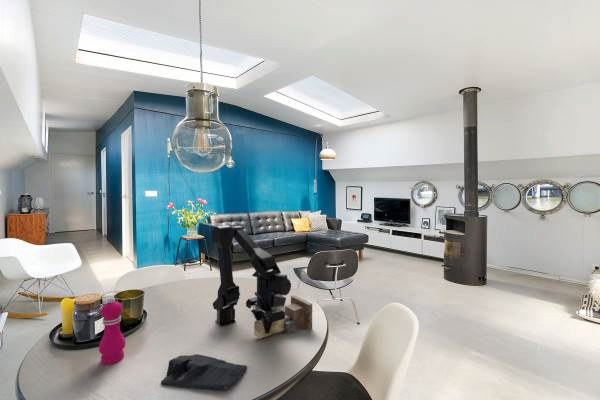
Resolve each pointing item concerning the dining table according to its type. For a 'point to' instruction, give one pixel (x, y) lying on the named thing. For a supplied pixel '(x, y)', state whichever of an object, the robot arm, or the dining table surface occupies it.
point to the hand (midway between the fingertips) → (264, 331)
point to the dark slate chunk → (202, 372)
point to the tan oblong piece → (275, 328)
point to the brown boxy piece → (298, 315)
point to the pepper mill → (112, 333)
